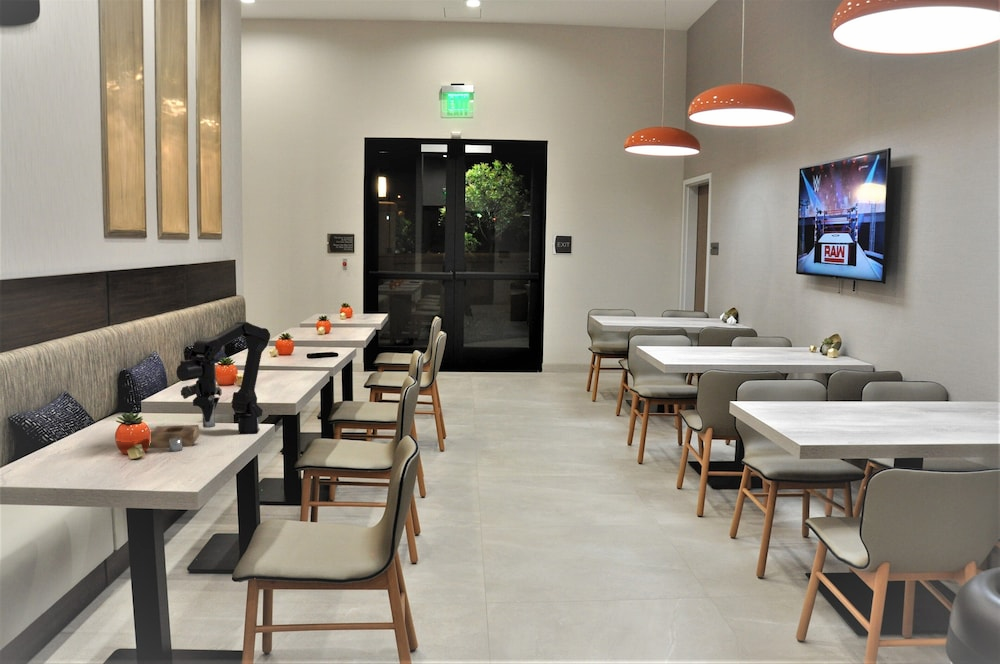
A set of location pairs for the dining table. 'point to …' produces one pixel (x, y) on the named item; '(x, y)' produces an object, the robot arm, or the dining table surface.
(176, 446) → the short pin
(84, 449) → the dining table surface
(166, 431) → the hole block
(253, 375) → the robot arm
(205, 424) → the tall pin
